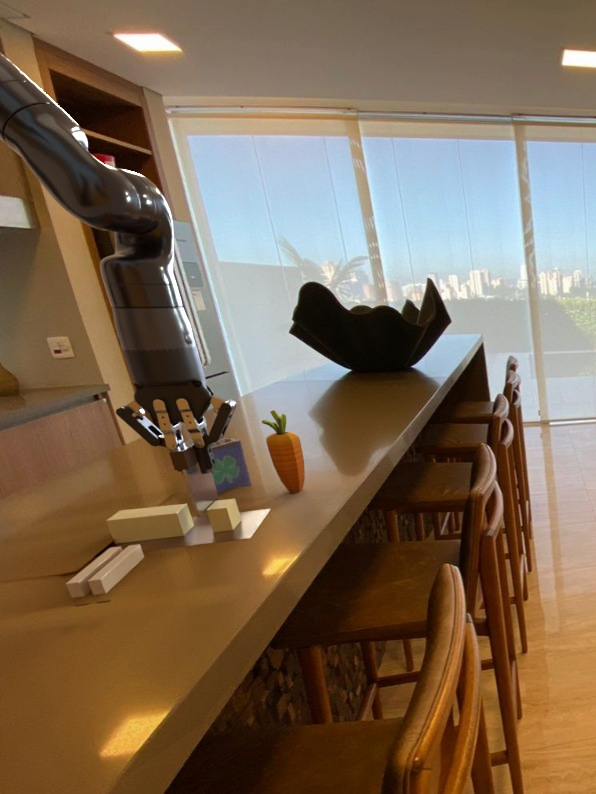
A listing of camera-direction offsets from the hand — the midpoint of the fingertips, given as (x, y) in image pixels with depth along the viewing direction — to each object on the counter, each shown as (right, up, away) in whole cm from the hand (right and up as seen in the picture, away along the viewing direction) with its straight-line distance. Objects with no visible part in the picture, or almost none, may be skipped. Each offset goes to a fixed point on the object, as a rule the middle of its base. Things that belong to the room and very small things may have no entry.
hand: (197, 472), depth 79 cm
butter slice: (+1, -8, +4) cm, 9 cm away
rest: (-3, -14, -10) cm, 18 cm away
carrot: (+3, -3, +18) cm, 19 cm away
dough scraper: (0, -5, +2) cm, 5 cm away
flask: (-10, -3, +20) cm, 23 cm away
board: (-3, -9, +3) cm, 10 cm away
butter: (-7, -9, +1) cm, 11 cm away
